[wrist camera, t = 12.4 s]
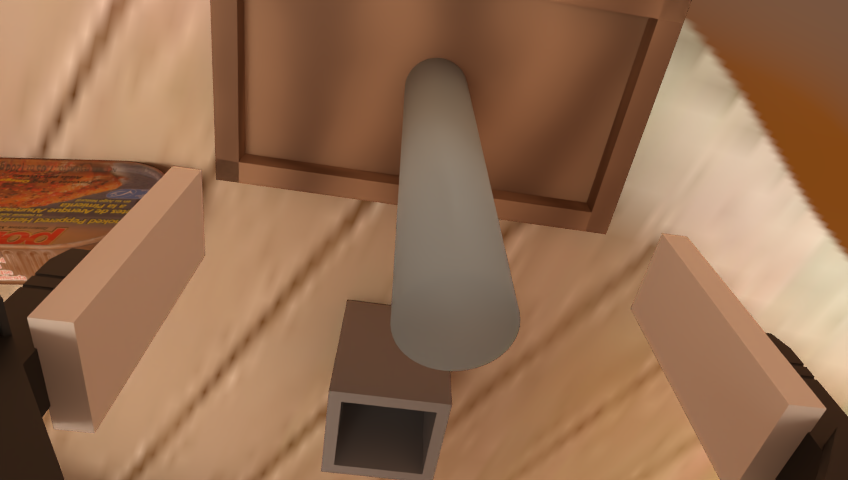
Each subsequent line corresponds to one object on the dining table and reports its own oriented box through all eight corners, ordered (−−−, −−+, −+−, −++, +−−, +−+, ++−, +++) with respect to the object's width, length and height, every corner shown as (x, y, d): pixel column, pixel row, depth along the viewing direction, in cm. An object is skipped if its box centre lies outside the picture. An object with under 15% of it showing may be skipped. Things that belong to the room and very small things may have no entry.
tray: (227, 164, 32) (216, 179, 31) (221, -90, 26) (207, -89, 24) (596, 217, 34) (605, 234, 32) (676, -11, 28) (693, -5, 26)
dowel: (401, 114, 30) (383, 364, 15) (409, 53, 28) (399, 264, 13) (461, 123, 30) (503, 376, 15) (473, 63, 29) (535, 281, 13)
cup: (339, 374, 40) (321, 471, 34) (347, 299, 37) (329, 390, 30) (431, 385, 41) (432, 483, 34) (447, 312, 38) (451, 405, 31)
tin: (193, 162, 32) (125, 237, 25) (202, 211, 34) (141, 295, 27) (-75, 154, 32) (-221, 227, 25) (-53, 204, 34) (-184, 286, 27)
